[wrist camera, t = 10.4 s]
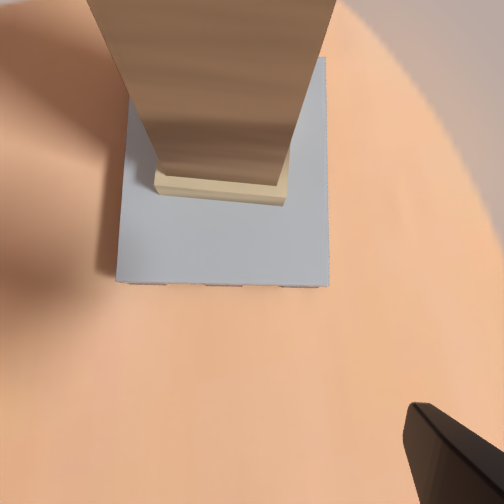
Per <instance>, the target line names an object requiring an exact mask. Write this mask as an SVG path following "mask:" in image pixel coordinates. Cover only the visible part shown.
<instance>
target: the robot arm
mask: <svg viewBox="0 0 504 504" xmlns="http://www.w3.org/2000/svg"><path fill="white" fill-rule="evenodd" d="M403 445H404V448H405V452H406V455H407V459H408V462H409V466H410V469H411V473H412V476H413V480H414V483H415V487H416V490H417V494H418V497H419V501H420V504H504V452H503V451H501V450H500V449H498V448H497V447H495V446H494V445H492V444H491V443H489V442H488V441H486V440H485V439H483V438H482V437H480V436H479V435H477V434H475V433H474V432H472V431H471V430H469V429H468V428H466V427H465V426H463V425H462V424H460V423H459V422H457V421H456V420H454V419H453V418H451V417H450V416H448V415H447V414H445V413H444V412H442V411H441V410H439V409H438V408H436V407H435V406H433V405H432V404H430V403H419V402H412V403H411V404H410V405H409V407H408V410H407V415H406V420H405V425H404V430H403Z"/></svg>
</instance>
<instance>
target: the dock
mask: <svg viewBox="0 0 504 504" xmlns="http://www.w3.org/2000/svg"><path fill="white" fill-rule="evenodd" d="M157 157H158V156H157V154H156V152H155V150H154V148H153V145H152V143H151V141H150V139H149V137H148V134H147V132H146V130H145V128H144V126H143V123H142V121H141V119H140V117H139V115H138V112H137V110H136V108H135V106H134V104H133V101H132V99H131V97H130V95H129V108H128V121H127V135H126V148H125V162H124V175H123V188H122V202H121V215H120V229H119V242H118V255H117V269H116V282H119V283H128V284H138V285H167V284H206V286H238V287H242V286H243V285H260V286H282V287H289V288H318V287H327V286H330V277H329V221H328V164H327V107H326V57H318V59H317V62H316V65H315V68H314V71H313V74H312V77H311V81H310V84H309V87H308V90H307V93H306V96H305V99H304V102H303V105H302V109H301V112H300V115H299V118H298V121H297V124H296V127H295V130H294V133H293V136H292V140H291V143H290V157H289V171H288V186H287V198H286V200H285V203H284V205H283V206H272V205H262V204H251V203H240V202H230V201H219V200H208V199H198V198H187V197H176V196H166V195H159V193H158V192H157V190H156V188H155V186H154V180H155V172H156V164H157Z"/></svg>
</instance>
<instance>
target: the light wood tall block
mask: <svg viewBox="0 0 504 504" xmlns="http://www.w3.org/2000/svg"><path fill="white" fill-rule="evenodd" d="M87 3H88V5H89V7H90V9H91V11H92V14H93V16H94V18H95V20H96V22H97V25H98V27H99V29H100V31H101V33H102V36H103V38H104V40H105V42H106V44H107V47H108V49H109V51H110V53H111V55H112V58H113V60H114V62H115V64H116V66H117V69H118V71H119V73H120V75H121V77H122V79H123V82H124V84H125V86H126V88H127V90H128V93H129V95H130V97H131V99H132V101H133V104H134V106H135V108H136V110H137V112H138V115H139V117H140V119H141V121H142V123H143V126H144V128H145V130H146V132H147V134H148V137H149V139H150V141H151V143H152V145H153V148H154V150H155V152H156V154H157V156H158V157H157V164H156V172H155V180H154V186H155V188H156V190H157V192H158V193H159V195H166V196H176V197H187V198H198V199H208V200H219V201H230V202H240V203H251V204H262V205H272V206H283V205H284V203H285V200H286V198H287V186H288V171H289V157H290V143H291V140H292V136H293V133H294V130H295V127H296V124H297V121H298V118H299V115H300V112H301V109H302V105H303V102H304V99H305V96H306V93H307V90H308V87H309V84H310V81H311V77H312V74H313V71H314V68H315V65H316V62H317V59H318V56H319V53H320V50H321V46H322V43H323V40H324V37H325V34H326V31H327V28H328V25H329V22H330V19H331V15H332V12H333V9H334V6H335V3H336V0H87Z"/></svg>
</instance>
